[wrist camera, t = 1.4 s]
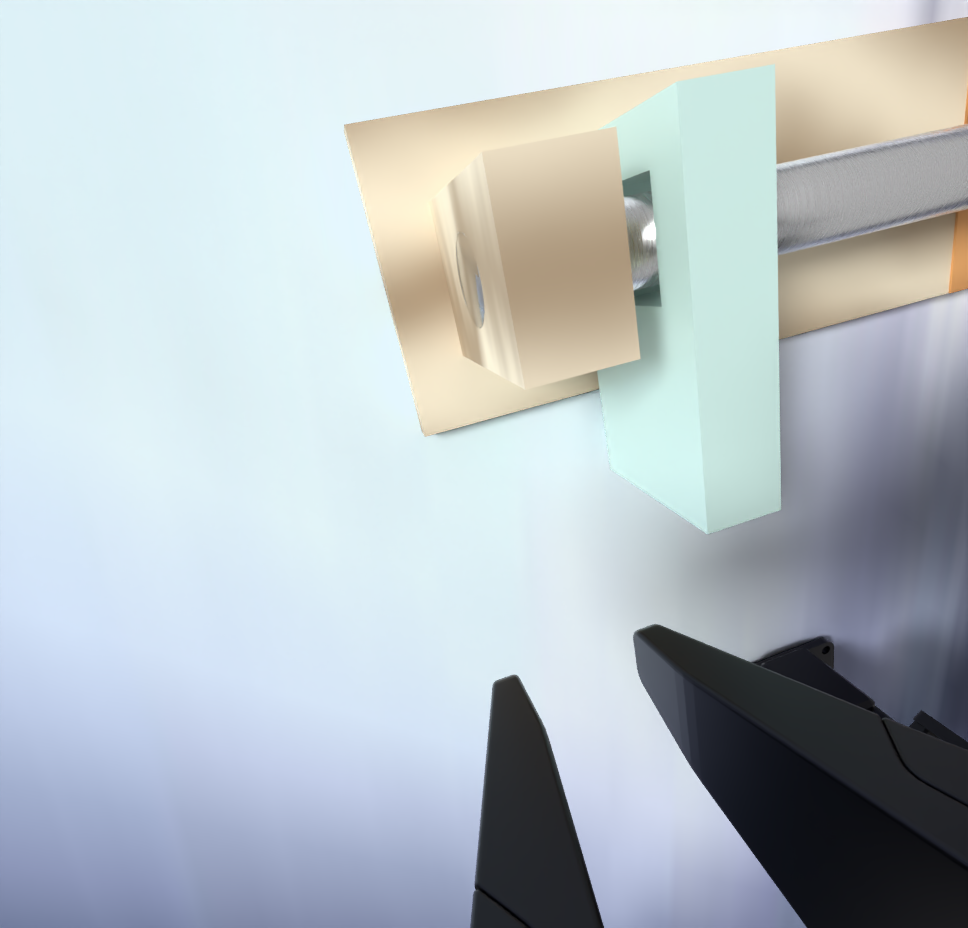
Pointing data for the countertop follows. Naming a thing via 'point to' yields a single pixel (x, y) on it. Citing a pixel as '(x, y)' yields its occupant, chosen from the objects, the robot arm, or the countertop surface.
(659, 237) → the collar
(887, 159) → the pipe
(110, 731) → the countertop surface
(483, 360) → the beige cradle stand
